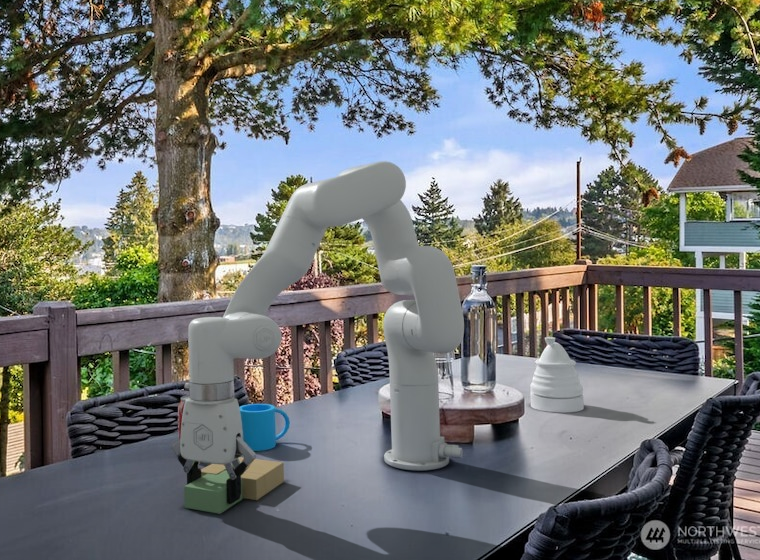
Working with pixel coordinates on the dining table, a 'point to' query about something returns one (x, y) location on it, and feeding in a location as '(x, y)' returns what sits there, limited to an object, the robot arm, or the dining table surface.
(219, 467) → the tan flat block
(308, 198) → the robot arm
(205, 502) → the green pad
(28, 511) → the dining table surface
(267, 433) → the mug
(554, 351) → the honey pot
